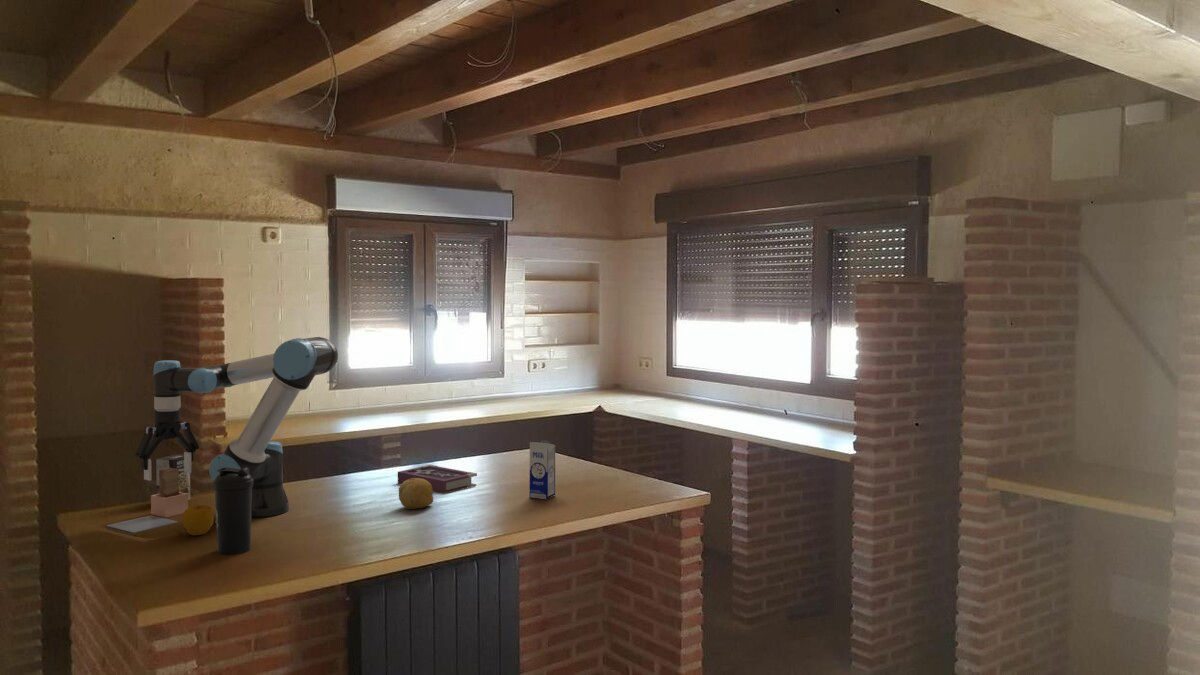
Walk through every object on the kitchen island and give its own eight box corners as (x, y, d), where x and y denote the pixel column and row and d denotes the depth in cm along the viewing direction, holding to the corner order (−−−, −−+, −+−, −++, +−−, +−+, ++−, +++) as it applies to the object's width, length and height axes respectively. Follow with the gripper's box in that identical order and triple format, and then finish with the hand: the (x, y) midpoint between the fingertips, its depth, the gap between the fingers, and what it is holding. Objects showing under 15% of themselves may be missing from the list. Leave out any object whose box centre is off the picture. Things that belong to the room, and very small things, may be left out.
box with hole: (188, 515, 280) (187, 493, 280) (165, 520, 273) (165, 498, 273) (173, 512, 284) (173, 490, 283) (151, 517, 277) (150, 495, 277)
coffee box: (173, 508, 289) (172, 459, 288) (156, 507, 290) (155, 458, 289) (191, 501, 298) (190, 454, 297) (174, 500, 299) (173, 453, 298)
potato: (440, 506, 294) (440, 477, 293) (410, 514, 284) (410, 483, 283) (420, 501, 300) (420, 472, 299) (390, 508, 290) (390, 479, 290)
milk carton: (529, 498, 306) (529, 441, 305) (537, 493, 313) (537, 438, 311) (547, 500, 304) (547, 442, 303) (555, 495, 310) (555, 439, 309)
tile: (178, 525, 268) (178, 521, 268) (134, 536, 256) (134, 532, 256) (151, 518, 275) (151, 515, 275) (106, 529, 263) (106, 525, 263)
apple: (193, 540, 253) (192, 510, 252) (175, 535, 257) (175, 506, 257) (220, 533, 260) (219, 504, 259) (202, 529, 264) (202, 500, 264)
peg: (179, 512, 279) (178, 469, 278) (167, 515, 276) (166, 471, 275) (171, 510, 281) (170, 467, 281) (160, 513, 278) (159, 470, 277)
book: (476, 486, 325) (476, 473, 325) (444, 494, 312) (444, 480, 312) (430, 477, 340) (430, 464, 340) (397, 484, 327) (397, 471, 327)
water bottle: (221, 545, 248) (220, 464, 247) (258, 544, 249) (257, 464, 248) (208, 556, 238) (207, 472, 237) (247, 555, 239) (246, 472, 238)
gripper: (195, 404, 289) (196, 467, 291) (121, 413, 268) (122, 481, 269) (210, 406, 285) (210, 470, 287) (136, 415, 264) (137, 484, 265)
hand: (168, 476), depth 278 cm, fingers open, 13 cm apart
